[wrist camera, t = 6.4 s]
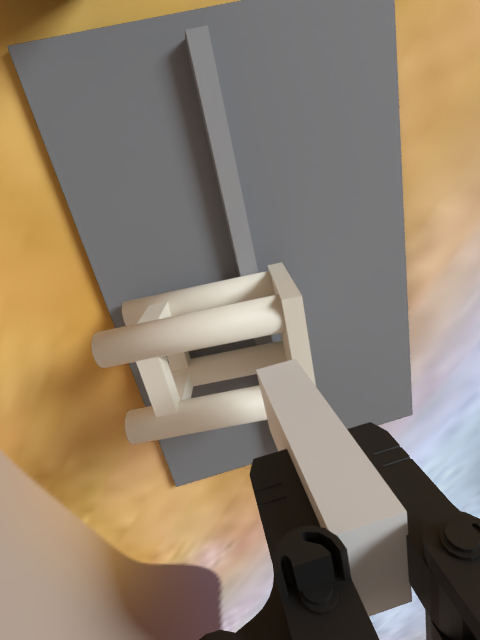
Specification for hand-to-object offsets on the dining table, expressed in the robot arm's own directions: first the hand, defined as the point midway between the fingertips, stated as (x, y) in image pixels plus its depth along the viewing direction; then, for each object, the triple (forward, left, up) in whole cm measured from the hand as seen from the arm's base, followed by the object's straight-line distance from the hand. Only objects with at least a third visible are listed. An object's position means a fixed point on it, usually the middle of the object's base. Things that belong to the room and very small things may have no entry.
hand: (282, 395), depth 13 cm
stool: (0, -2, -5) cm, 5 cm away
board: (+2, -2, -9) cm, 10 cm away
